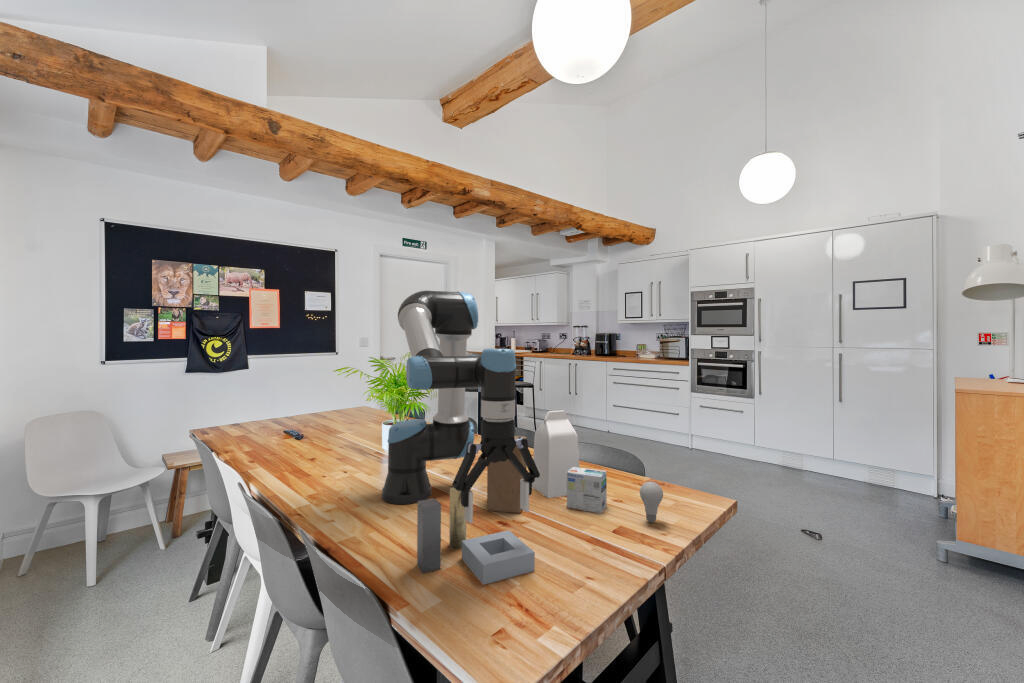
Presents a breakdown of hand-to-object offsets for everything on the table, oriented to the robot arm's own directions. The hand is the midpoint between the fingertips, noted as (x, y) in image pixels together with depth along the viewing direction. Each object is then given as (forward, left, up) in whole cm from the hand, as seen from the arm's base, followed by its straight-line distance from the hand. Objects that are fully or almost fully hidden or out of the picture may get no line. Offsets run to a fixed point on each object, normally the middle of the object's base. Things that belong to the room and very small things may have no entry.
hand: (497, 515), depth 96 cm
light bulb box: (0, +42, -11) cm, 43 cm away
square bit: (-11, -10, -11) cm, 18 cm away
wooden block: (-19, +28, -11) cm, 36 cm away
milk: (-15, +49, -11) cm, 52 cm away
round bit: (-13, +1, -11) cm, 17 cm away
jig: (0, 0, -11) cm, 11 cm away
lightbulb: (+19, +43, -11) cm, 48 cm away
